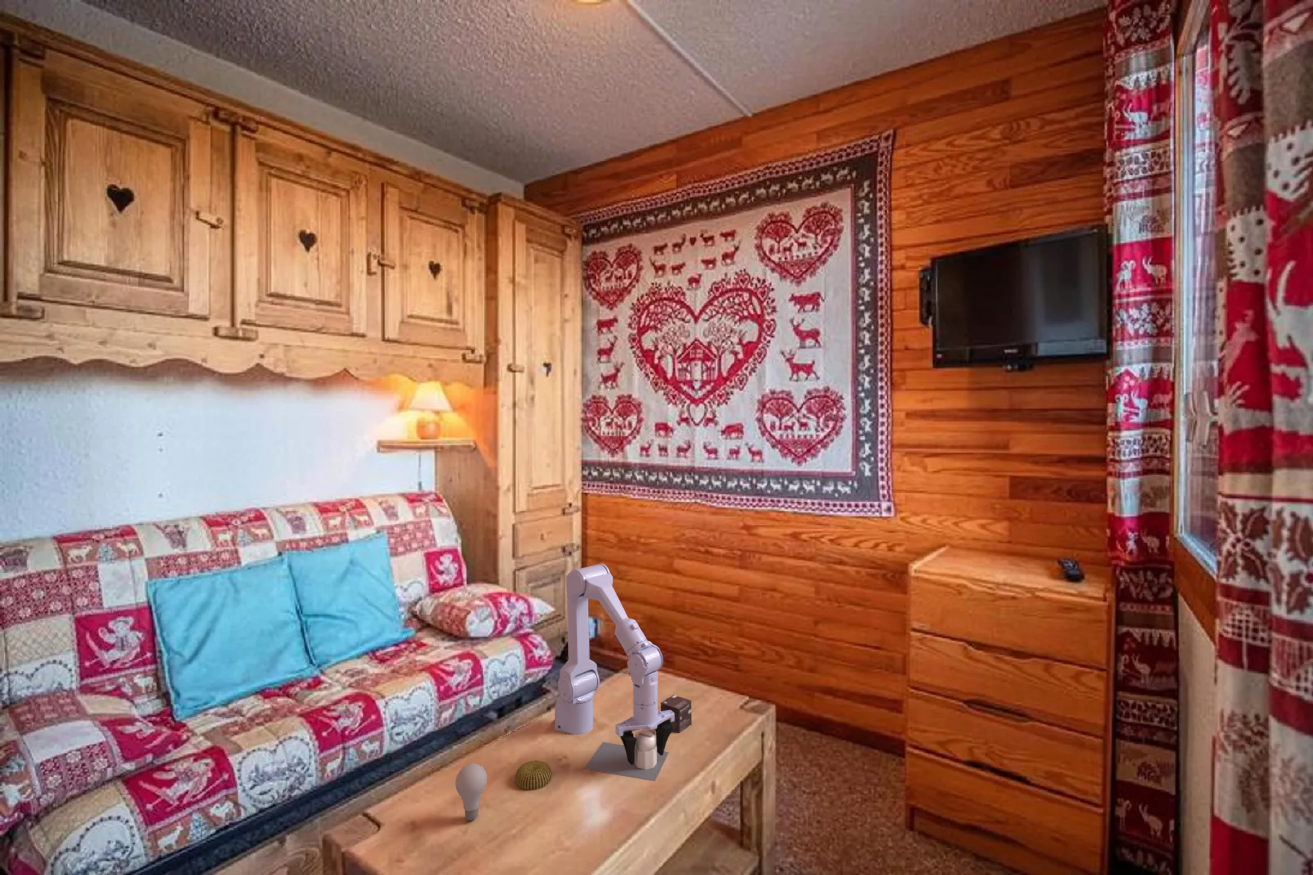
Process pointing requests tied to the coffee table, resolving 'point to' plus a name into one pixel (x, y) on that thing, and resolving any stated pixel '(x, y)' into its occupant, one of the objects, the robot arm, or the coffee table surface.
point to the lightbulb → (471, 788)
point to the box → (678, 712)
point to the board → (621, 763)
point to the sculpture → (533, 774)
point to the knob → (645, 749)
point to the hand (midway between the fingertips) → (645, 757)
